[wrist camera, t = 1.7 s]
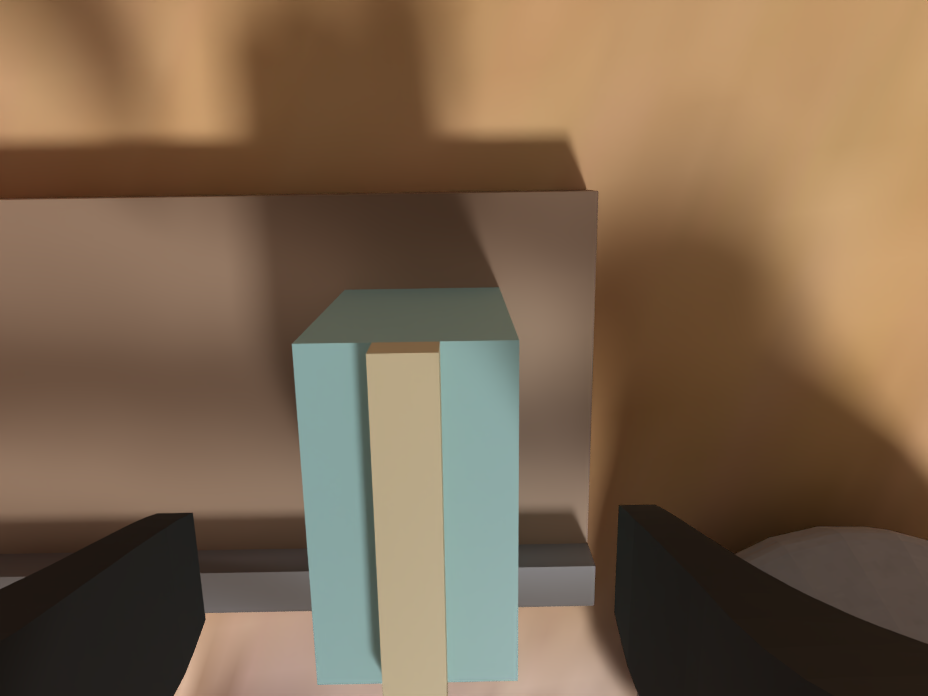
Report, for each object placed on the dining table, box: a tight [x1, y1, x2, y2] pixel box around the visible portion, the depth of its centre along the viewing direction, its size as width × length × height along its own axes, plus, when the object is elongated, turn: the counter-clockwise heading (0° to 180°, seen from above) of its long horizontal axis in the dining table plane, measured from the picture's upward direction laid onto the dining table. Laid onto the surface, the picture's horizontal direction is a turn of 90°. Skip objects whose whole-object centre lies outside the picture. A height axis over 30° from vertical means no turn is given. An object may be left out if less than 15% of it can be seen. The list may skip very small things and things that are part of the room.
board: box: [0, 190, 598, 613], centre depth 19 cm, size 11×23×3 cm, turn 91°
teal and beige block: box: [292, 287, 519, 696], centre depth 16 cm, size 7×4×7 cm, turn 1°
